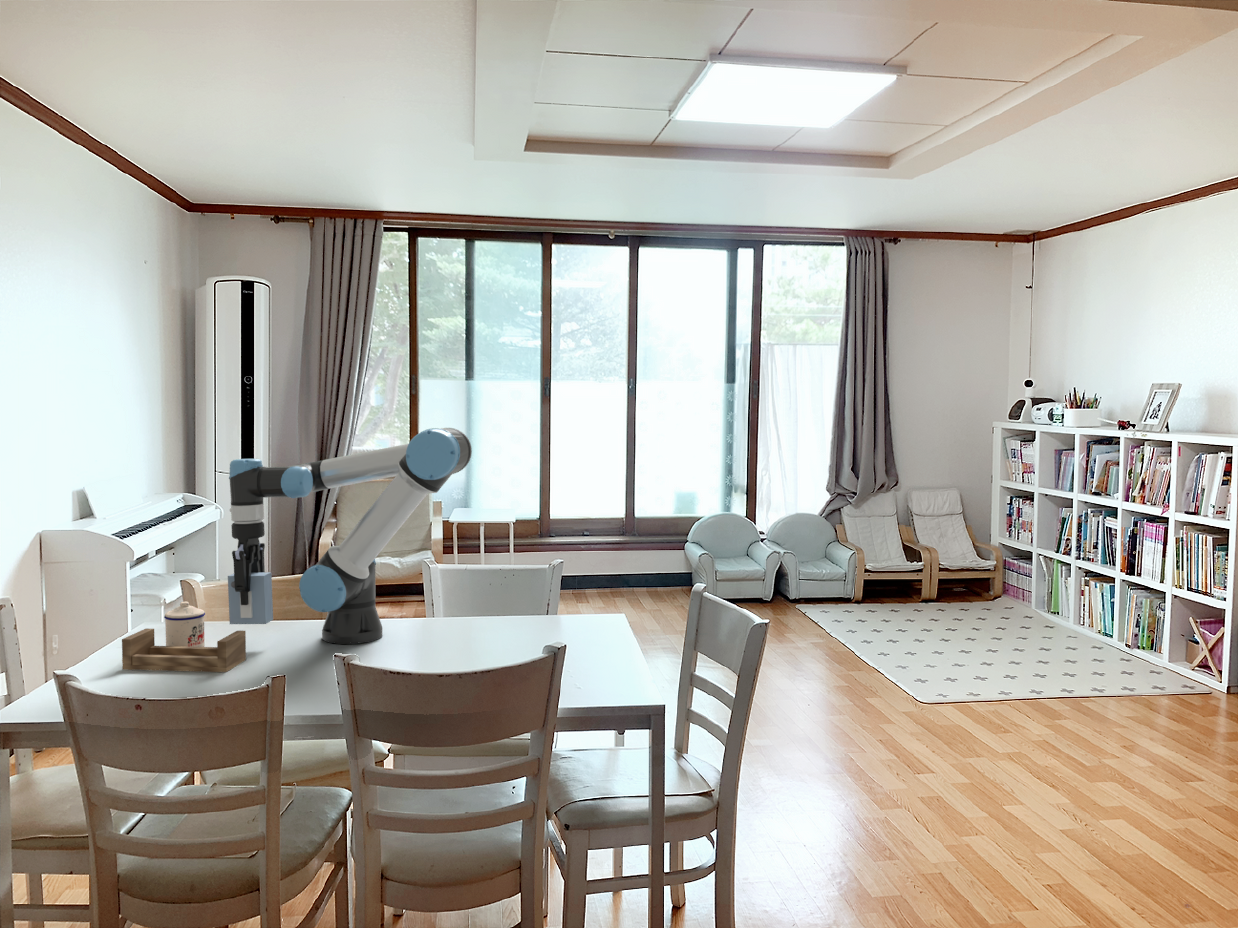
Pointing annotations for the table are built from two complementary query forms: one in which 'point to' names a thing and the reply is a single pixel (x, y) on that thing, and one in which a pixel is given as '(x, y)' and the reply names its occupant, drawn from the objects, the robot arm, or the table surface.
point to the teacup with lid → (185, 626)
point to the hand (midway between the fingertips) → (251, 614)
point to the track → (182, 654)
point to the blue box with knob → (260, 600)
